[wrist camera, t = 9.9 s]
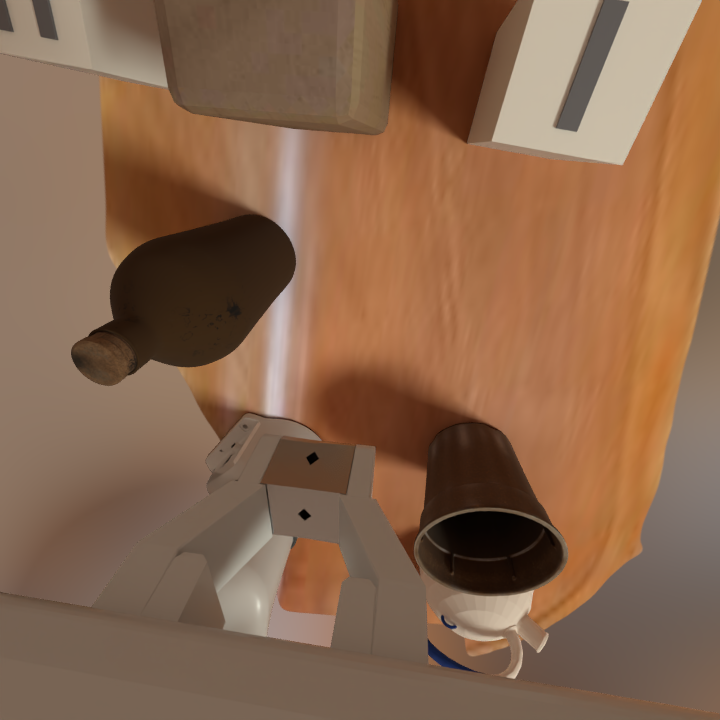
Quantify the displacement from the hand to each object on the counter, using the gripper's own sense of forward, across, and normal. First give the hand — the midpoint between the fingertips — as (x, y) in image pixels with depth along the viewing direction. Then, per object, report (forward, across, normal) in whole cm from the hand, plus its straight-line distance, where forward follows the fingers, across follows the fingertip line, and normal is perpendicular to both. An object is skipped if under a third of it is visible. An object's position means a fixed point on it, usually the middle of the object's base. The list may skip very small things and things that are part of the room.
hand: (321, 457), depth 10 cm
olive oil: (+34, +15, +4) cm, 38 cm away
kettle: (+34, -20, +59) cm, 71 cm away
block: (+34, +6, -14) cm, 37 cm away
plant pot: (+34, -15, +31) cm, 49 cm away
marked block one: (+34, -11, -12) cm, 37 cm away
